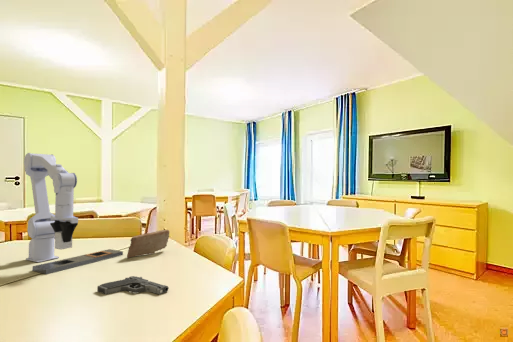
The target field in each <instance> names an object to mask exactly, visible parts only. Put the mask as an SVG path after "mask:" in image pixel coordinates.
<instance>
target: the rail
mask: <svg viewBox="0 0 513 342" xmlns="http://www.w3.org/2000/svg"><path fill="white" fill-rule="evenodd" d="M123 255H124V251H121V250H116V249H110V248H109V249H104V250H100V251H95V252H92V253H87V254H86V253H85V254H82V255H77V256H72V257H69V258H63V259H59V260H56V261H50V262H46V263H41V264H37V265H33V266H32V269H31V270H32V272H37V273H40V274H44V275H49V274H53V273H57V272H60V271H65V270H68V269H73V268H76V267H77V268H78V267H80V266H84V265H89V264H93V263H96V262H101V261H105V260H108V259H112V258H116V257H121V256H123Z"/></svg>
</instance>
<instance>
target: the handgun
mask: <svg viewBox="0 0 513 342" xmlns="http://www.w3.org/2000/svg"><path fill="white" fill-rule="evenodd" d="M96 288H97V289H96V290H97V292H98V293H101V294H103V295H105V296H107V295H111V294H114V293H119V292H123V291H128V292H130V293H132V294H133V293H134V294H138V293H142V292H145V293H149V292H150V293H152V294H156V295H163V294H165V293H168V292H169V290H170V288H169V286H168V285H166V284H160V283H157V282H154V281H151V280H150V281H149V279H145V278H143V277H142V276H135V275H131V276H129V277H125V278H124V279H120V280H119V279H118V280H115V281H109V282H105V283H102V284H99V285H97V287H96Z"/></svg>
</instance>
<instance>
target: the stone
mask: <svg viewBox="0 0 513 342" xmlns="http://www.w3.org/2000/svg"><path fill="white" fill-rule="evenodd" d="M169 237H170V230H169V229H161V230H157V231H156V230H155V231H152V232H148V233H147V232H146V233H143V234H139V235H135V236H131V239H130V245H129V247H128V250H127V255H126V258H127V259H129V258H133V257H139V256H144V255H153V254H154V253H156V252H158V251H161V250H163V249H166V247H167V245H168V242H169Z"/></svg>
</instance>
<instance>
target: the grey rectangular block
mask: <svg viewBox="0 0 513 342" xmlns="http://www.w3.org/2000/svg"><path fill="white" fill-rule="evenodd" d="M71 248H73V237H72V238H71V241H70V242H64V241H63V233H62V231H59V232H55V243H54V250H66V249H71Z"/></svg>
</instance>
